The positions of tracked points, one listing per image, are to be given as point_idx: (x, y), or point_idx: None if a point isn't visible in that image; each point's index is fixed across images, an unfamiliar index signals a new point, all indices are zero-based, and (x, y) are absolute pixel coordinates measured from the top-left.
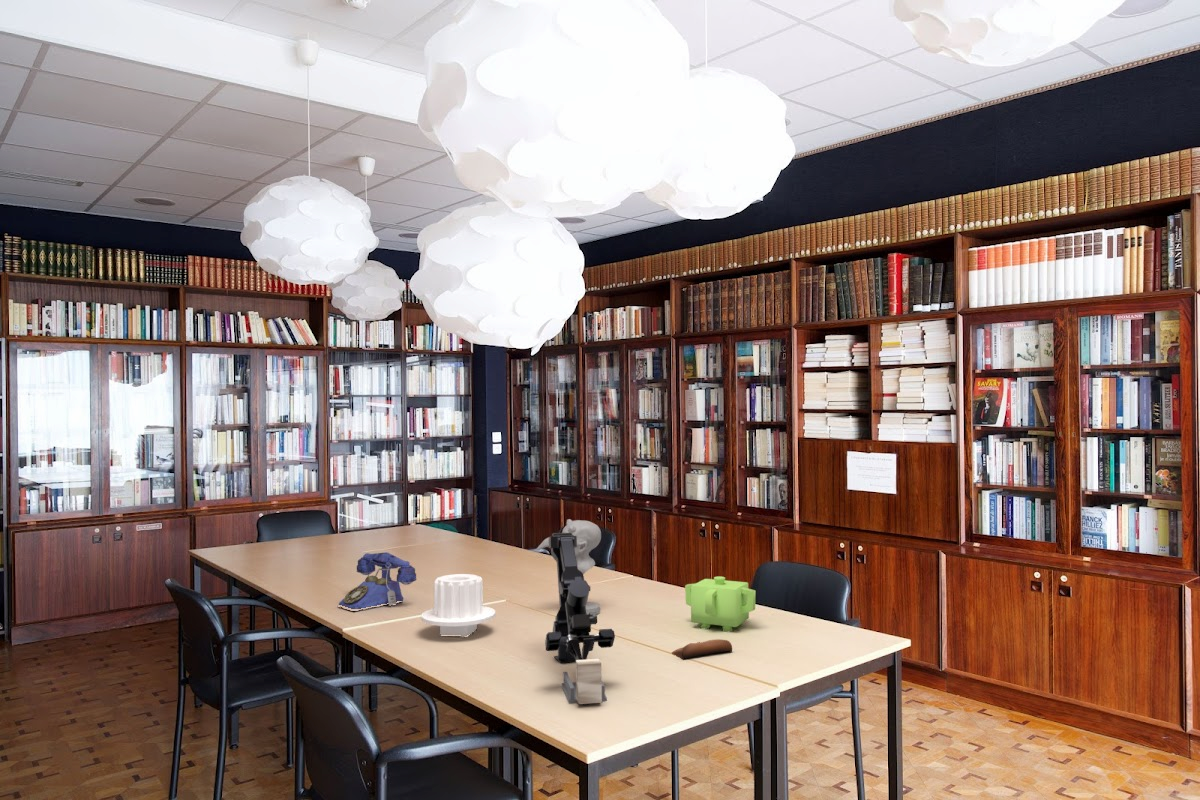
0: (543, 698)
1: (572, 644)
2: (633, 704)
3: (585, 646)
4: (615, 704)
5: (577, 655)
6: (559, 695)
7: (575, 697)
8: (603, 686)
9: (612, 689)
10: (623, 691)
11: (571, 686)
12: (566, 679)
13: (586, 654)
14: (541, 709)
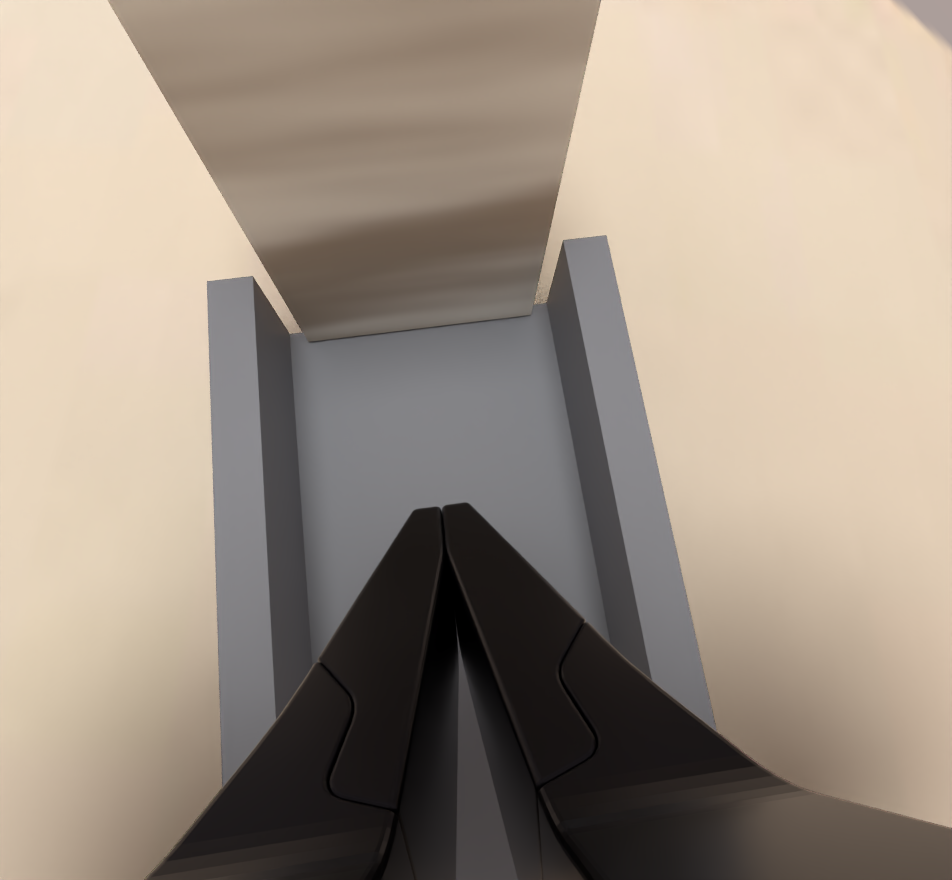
0: (846, 455)
1: (950, 847)
2: (23, 248)
3: (304, 876)
4: (181, 259)
5: (590, 629)
6: (700, 530)
7: (538, 362)
8: (223, 283)
9: (127, 686)
10: (22, 607)
11: (599, 293)
12: (680, 577)
13: (337, 663)
14: (813, 197)
